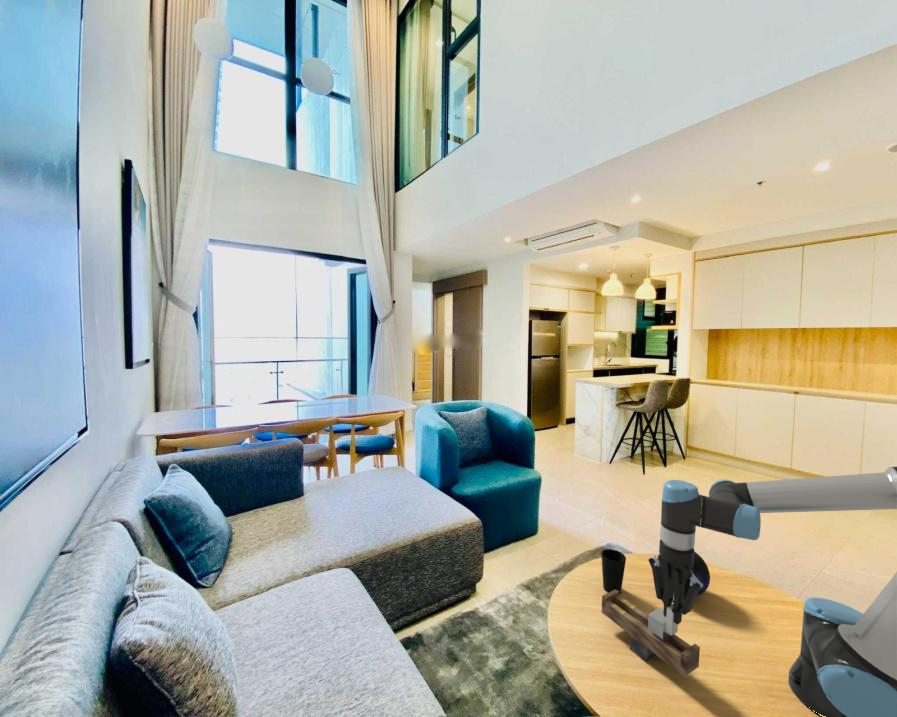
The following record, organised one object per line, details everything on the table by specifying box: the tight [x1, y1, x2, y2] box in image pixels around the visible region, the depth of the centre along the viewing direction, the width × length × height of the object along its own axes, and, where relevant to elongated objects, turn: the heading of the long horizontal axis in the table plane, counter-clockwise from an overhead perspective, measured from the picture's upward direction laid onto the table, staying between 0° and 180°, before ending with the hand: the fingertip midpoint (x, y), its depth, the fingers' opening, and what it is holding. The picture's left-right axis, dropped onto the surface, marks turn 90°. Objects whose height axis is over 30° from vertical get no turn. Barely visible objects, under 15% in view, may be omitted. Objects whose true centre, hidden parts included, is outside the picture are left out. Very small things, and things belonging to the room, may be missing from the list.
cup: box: [600, 548, 627, 595], centre depth 128 cm, size 8×8×12 cm
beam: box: [601, 589, 701, 678], centre depth 103 cm, size 24×6×9 cm, turn 29°
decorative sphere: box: [662, 551, 711, 597], centre depth 127 cm, size 15×15×15 cm
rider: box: [648, 607, 670, 643], centre depth 99 cm, size 4×5×7 cm
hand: (671, 631), depth 96 cm, fingers closed
